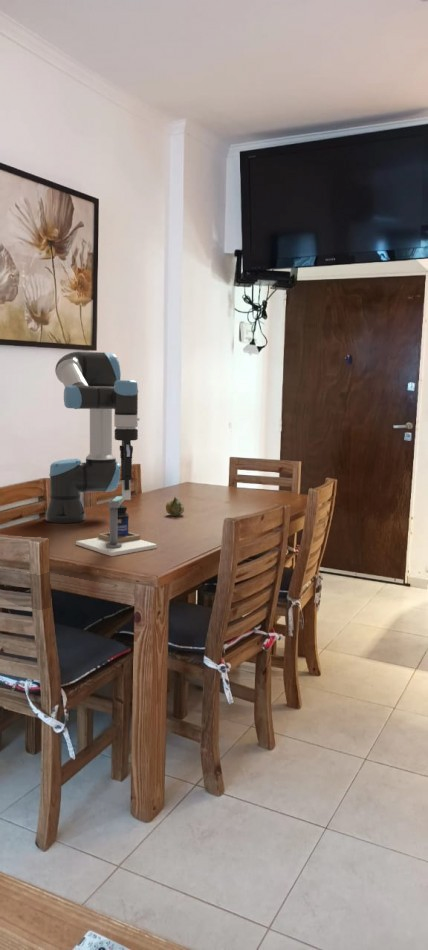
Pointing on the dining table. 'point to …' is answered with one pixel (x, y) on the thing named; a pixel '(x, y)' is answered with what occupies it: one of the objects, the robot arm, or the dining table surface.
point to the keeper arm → (115, 502)
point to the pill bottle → (122, 522)
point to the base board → (116, 551)
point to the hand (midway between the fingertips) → (126, 499)
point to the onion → (175, 507)
